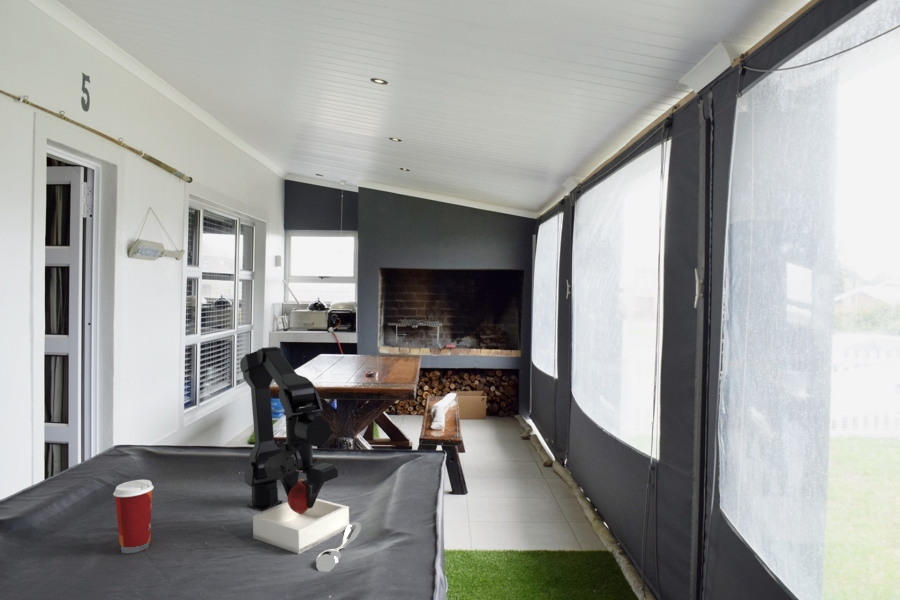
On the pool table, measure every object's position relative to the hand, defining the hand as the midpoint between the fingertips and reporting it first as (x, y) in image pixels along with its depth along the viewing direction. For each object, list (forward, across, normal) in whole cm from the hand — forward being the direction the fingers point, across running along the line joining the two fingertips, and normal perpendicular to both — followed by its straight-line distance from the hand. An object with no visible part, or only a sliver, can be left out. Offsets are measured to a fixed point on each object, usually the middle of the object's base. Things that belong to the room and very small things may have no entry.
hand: (301, 505), depth 128 cm
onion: (+2, 0, 0) cm, 2 cm away
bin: (+6, 0, 0) cm, 6 cm away
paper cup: (+7, -26, -24) cm, 36 cm away
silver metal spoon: (+7, +14, -1) cm, 15 cm away
